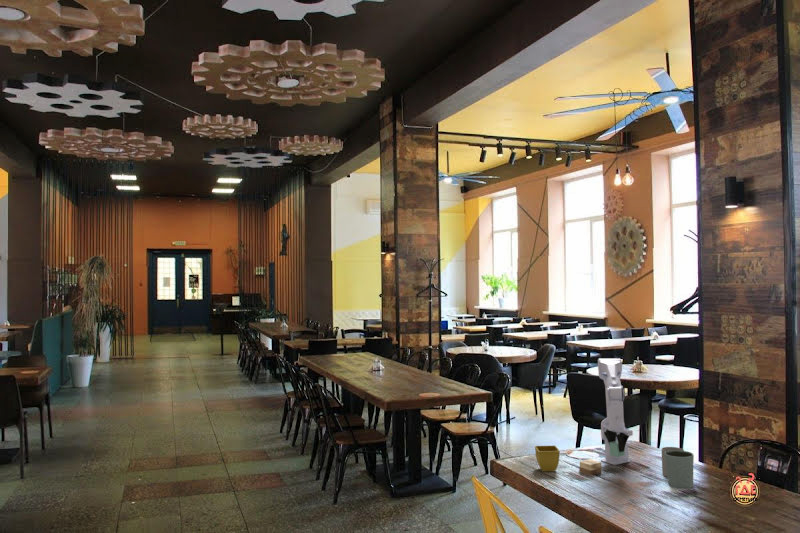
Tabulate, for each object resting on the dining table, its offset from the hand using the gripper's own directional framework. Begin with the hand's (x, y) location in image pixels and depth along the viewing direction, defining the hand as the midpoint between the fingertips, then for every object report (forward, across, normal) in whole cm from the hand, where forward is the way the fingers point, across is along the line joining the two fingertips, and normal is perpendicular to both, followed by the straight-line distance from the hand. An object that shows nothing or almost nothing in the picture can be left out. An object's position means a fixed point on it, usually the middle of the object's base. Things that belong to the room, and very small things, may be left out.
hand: (617, 450), depth 265 cm
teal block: (+2, 0, 0) cm, 2 cm away
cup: (+10, +13, +17) cm, 23 cm away
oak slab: (+8, -8, -7) cm, 13 cm away
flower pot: (+10, -20, -19) cm, 29 cm away
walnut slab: (+10, -8, -7) cm, 15 cm away
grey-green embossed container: (+10, +23, +8) cm, 26 cm away
